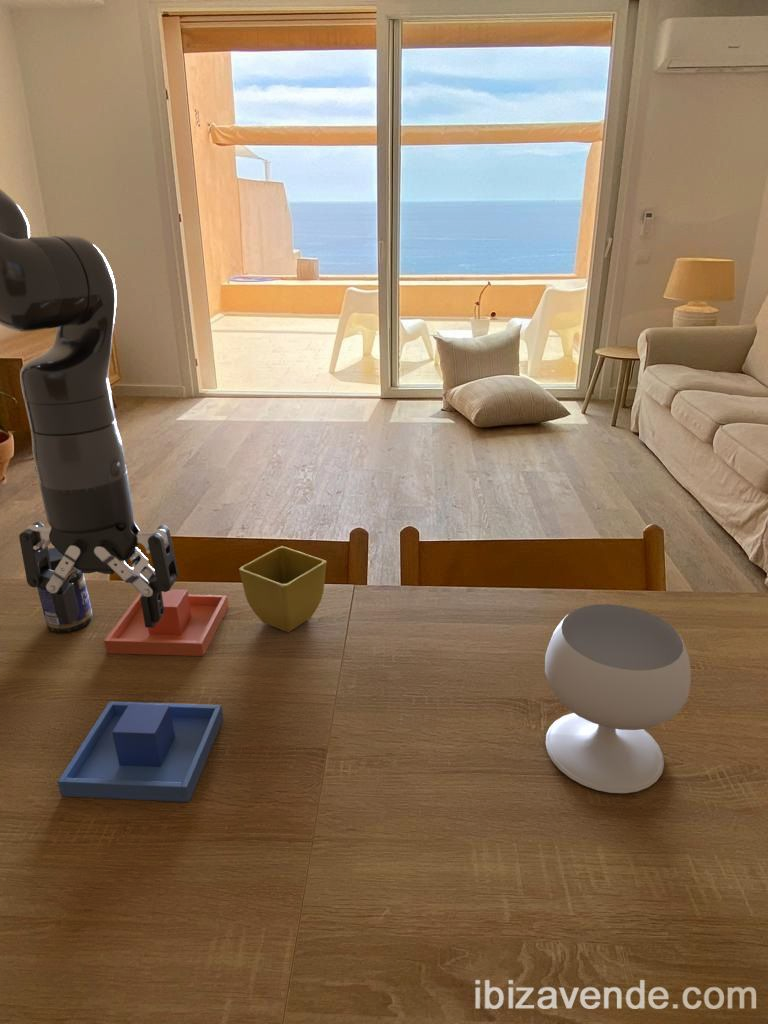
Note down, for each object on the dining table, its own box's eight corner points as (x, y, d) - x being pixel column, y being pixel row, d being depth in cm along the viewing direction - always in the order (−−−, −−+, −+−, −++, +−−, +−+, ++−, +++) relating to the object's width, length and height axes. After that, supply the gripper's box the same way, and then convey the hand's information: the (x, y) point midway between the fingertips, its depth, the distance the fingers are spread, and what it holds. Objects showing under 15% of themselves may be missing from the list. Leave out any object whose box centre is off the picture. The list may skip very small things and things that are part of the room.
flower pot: (285, 597, 104) (281, 544, 101) (330, 615, 100) (327, 560, 96) (243, 624, 98) (237, 568, 94) (289, 644, 93) (284, 586, 90)
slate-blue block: (119, 765, 73) (111, 732, 71) (135, 735, 77) (129, 703, 75) (160, 767, 73) (154, 733, 71) (175, 736, 77) (169, 704, 75)
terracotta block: (149, 634, 95) (143, 606, 93) (160, 616, 99) (156, 589, 97) (181, 635, 95) (176, 607, 93) (191, 617, 99) (187, 590, 97)
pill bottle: (97, 625, 98) (83, 556, 94) (52, 639, 95) (34, 568, 91) (87, 606, 103) (72, 539, 99) (43, 619, 100) (26, 551, 95)
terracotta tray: (106, 653, 92) (103, 640, 91) (141, 604, 103) (139, 593, 102) (203, 656, 91) (201, 643, 90) (228, 606, 102) (227, 595, 102)
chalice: (525, 780, 71) (536, 659, 65) (548, 697, 83) (559, 588, 77) (671, 820, 66) (699, 694, 60) (673, 726, 78) (696, 612, 72)
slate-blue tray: (61, 796, 70) (57, 781, 69) (112, 714, 81) (109, 701, 80) (189, 802, 69) (186, 787, 68) (223, 718, 80) (221, 705, 79)
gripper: (173, 459, 66) (193, 604, 73) (30, 456, 67) (62, 599, 74) (142, 489, 59) (167, 646, 66) (-17, 484, 60) (23, 640, 67)
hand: (111, 621), depth 70 cm, fingers open, 8 cm apart
